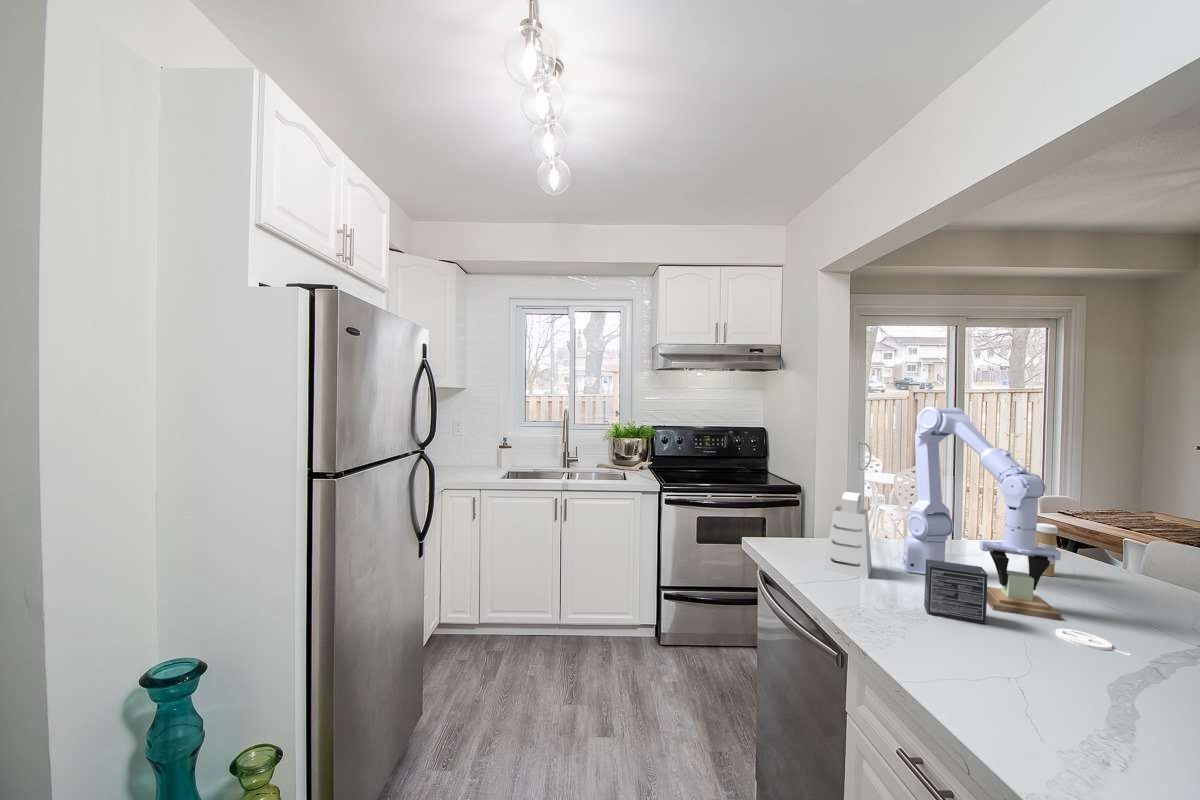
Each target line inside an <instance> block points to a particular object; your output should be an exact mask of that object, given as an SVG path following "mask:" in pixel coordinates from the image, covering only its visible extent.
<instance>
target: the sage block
mask: <svg viewBox="0 0 1200 800" xmlns="http://www.w3.org/2000/svg"><path fill="white" fill-rule="evenodd" d="M1033 589H1034V579H1033V578H1032V577H1031V576H1030V575H1029V573H1027V572H1023V571H1015V570H1010V569H1009V570H1008V569H1007V583H1006V586H1002V585H1001V591H1002V592H1003V593H1004V594H1005V595H1006V596H1007V597H1008V598H1013V599H1020V600H1026V601H1033V594H1034V590H1033Z"/></svg>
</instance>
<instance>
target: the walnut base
mask: <svg viewBox="0 0 1200 800" xmlns="http://www.w3.org/2000/svg"><path fill="white" fill-rule="evenodd" d="M1001 589H1002V587H1001V588H1000V587H999V588H998V587H992V586H987V606H989V607H990V608H991V609H992V610H993V611H999V612H1005V613H1011V614H1017V615H1018V614H1019V615H1024V616H1031V617H1037V618H1043V619H1050V620H1057V621H1061V620H1062V614H1061V613H1060V612H1059V611H1058V610H1056V609H1055V608H1054V607H1053V606H1051V605H1050V604H1049V603H1048V602H1047V601H1045V600H1044V599H1043V598H1042V597H1041V596H1040V595H1038V594H1035V593H1033V601H1026V600H1020V599H1013V598H1008V597H1007V596H1006V595H1005V594H1004V593H1003V592H1002V591H1001Z"/></svg>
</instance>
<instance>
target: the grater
mask: <svg viewBox="0 0 1200 800" xmlns="http://www.w3.org/2000/svg"><path fill="white" fill-rule="evenodd" d="M861 497H862V495H861V493H859V492H850V491H845V492H844V493H842V496H841V506H840V505H838V506H837V507H835V508H834V510H833V513H832V520H831V524H830V525H831V526H830V530H829V531H830V532H829V535H828V536H829V537H828V541H827V548H826V554H825V560H824V565H823V570H824V571H826V572H827V571H828V572H831V573H838V574H843V575H848V576H853V577H858V578H864V579H869V576H870V574H871V571H872V569H873V568H872V567H873V566H872V554H871V553H872V551H871V549H872V548H871V536H870V525H869V510H868V509H863V508H861V502H862V501H861ZM836 562H839V563H836ZM842 563H845V564H842ZM849 564H850V565H849ZM852 565H853V566H852ZM854 565H855V566H854Z"/></svg>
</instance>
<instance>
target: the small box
mask: <svg viewBox="0 0 1200 800" xmlns="http://www.w3.org/2000/svg"><path fill="white" fill-rule="evenodd" d="M924 575H925V576H924V577H925V578H924V598H923V599H924V601H923V606H924V609H925V612H926V614H927V615H931V616H935V617H942V618H946V619H953V620H957V621H958V620H959V621H965V622H970V623H976V624H980V625H987V624H988V620H987V606H988V604H987V587H988V577H989V574H988V573H987V571H986V570H985V569H984V568H983V567H982V566H979V565H972V564H965V563H964V564H963V563H955V562H949V561H945V562H943V561H936V560H929V559H926V571H925V574H924Z"/></svg>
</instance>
